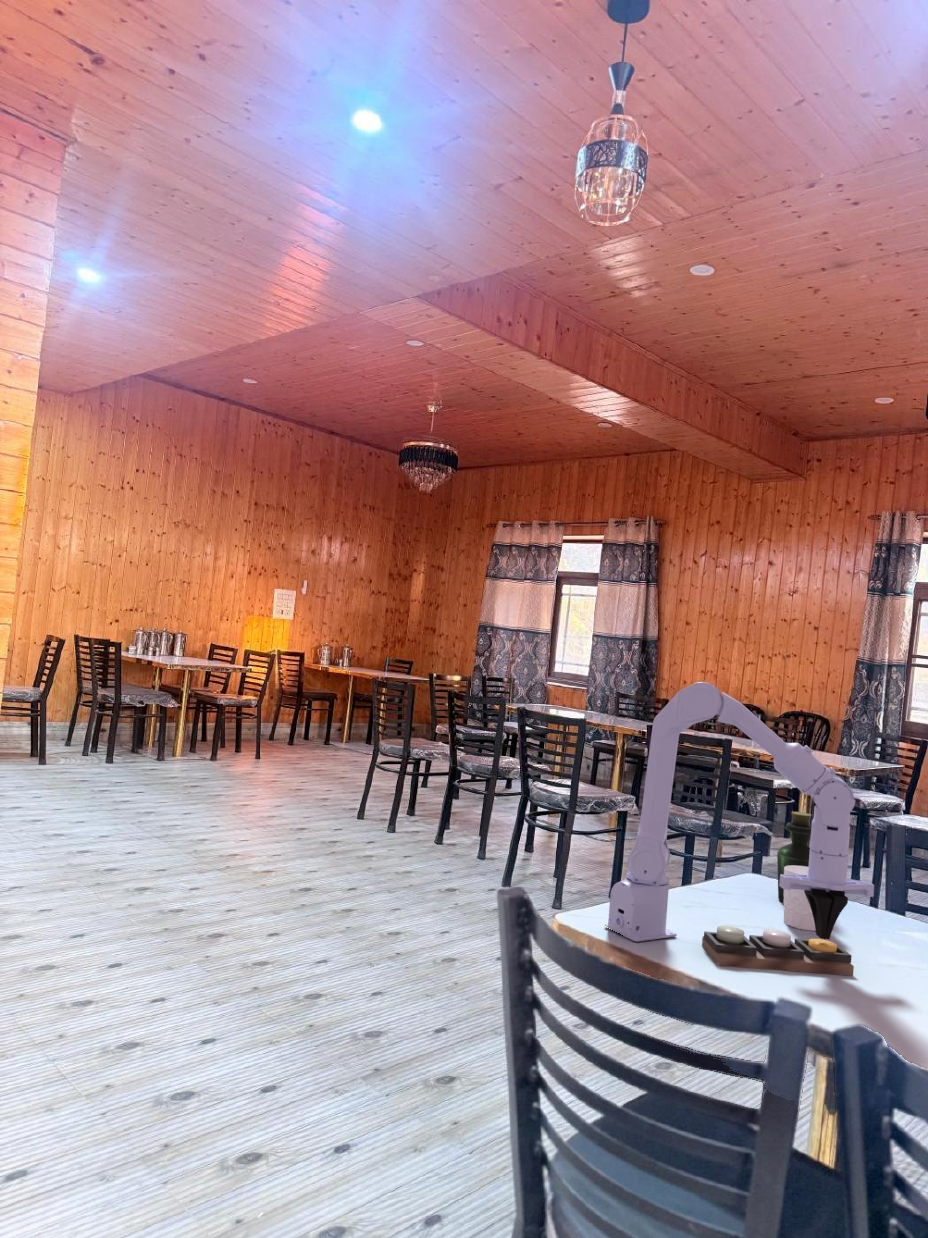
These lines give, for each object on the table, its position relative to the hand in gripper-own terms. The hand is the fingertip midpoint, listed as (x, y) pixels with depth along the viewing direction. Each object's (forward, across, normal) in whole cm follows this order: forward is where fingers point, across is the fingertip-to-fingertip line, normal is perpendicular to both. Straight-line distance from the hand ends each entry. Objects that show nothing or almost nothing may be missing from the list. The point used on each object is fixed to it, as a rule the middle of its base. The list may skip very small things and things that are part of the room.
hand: (822, 937), depth 138 cm
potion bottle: (+4, +11, +36) cm, 38 cm away
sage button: (+1, -15, 0) cm, 15 cm away
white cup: (+4, +6, +21) cm, 22 cm away
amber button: (+2, 0, 0) cm, 2 cm away
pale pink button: (+1, -7, 0) cm, 8 cm away
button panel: (+4, -7, 0) cm, 9 cm away
